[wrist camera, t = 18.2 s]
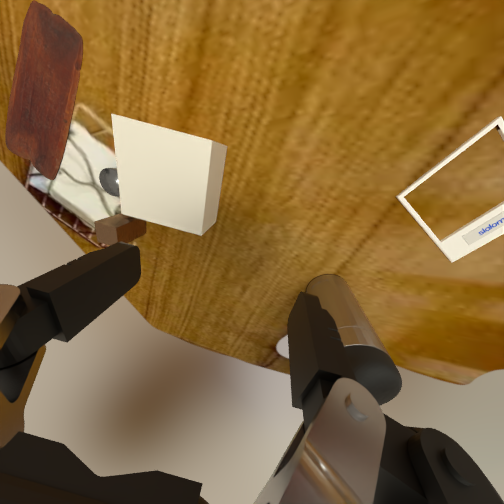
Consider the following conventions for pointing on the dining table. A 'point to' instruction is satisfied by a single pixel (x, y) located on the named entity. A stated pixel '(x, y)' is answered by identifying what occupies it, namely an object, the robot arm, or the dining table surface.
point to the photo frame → (474, 232)
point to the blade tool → (119, 229)
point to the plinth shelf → (168, 175)
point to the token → (110, 181)
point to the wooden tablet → (44, 89)
